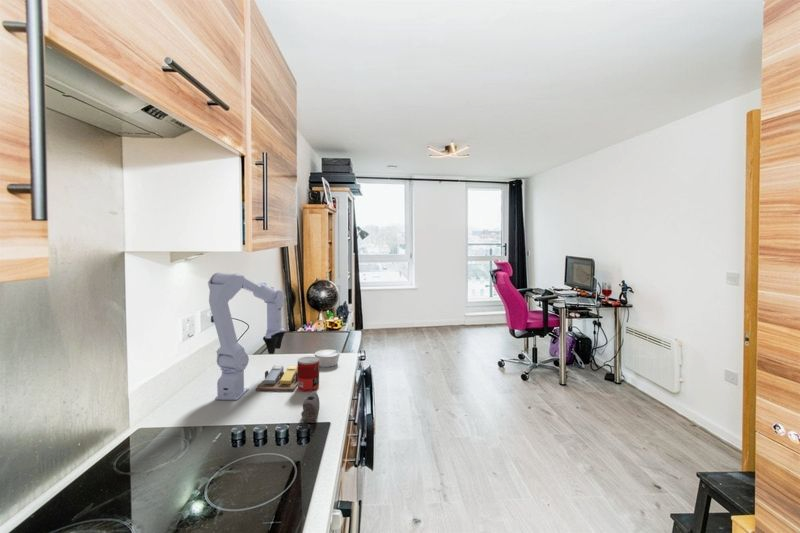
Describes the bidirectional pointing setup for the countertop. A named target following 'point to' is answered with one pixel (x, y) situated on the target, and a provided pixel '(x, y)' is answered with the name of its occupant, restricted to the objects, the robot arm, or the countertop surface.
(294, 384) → the walnut board
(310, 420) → the perforated stone tool
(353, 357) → the countertop surface
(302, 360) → the canned food
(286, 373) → the yellow rectangular block
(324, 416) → the countertop surface
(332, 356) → the ramekin
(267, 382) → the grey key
